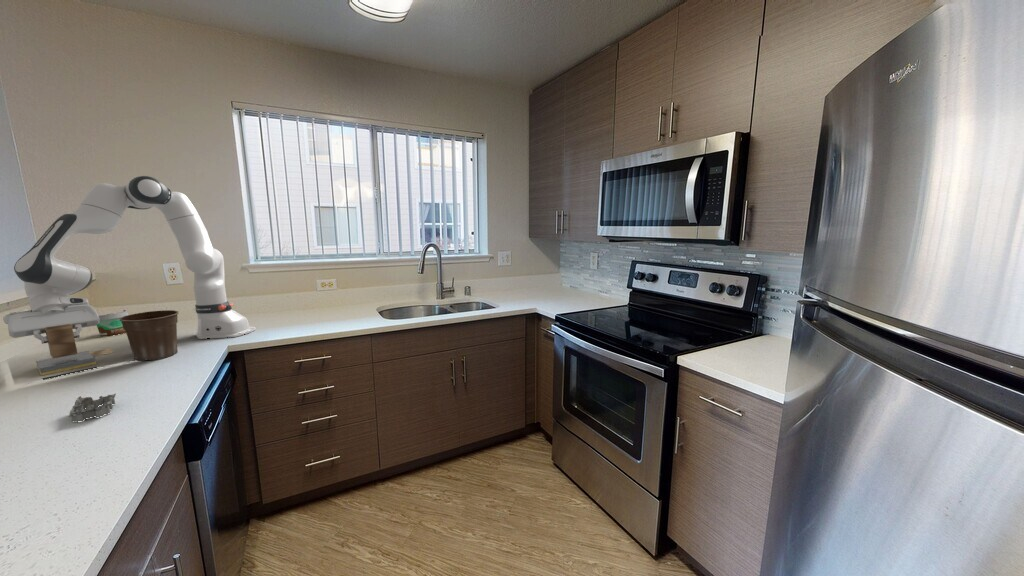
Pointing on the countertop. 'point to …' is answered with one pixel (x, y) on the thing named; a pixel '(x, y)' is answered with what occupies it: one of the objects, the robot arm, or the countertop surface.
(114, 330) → the food container
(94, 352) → the pallet
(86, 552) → the countertop surface
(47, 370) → the dock
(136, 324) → the plant pot
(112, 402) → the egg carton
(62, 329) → the crate
